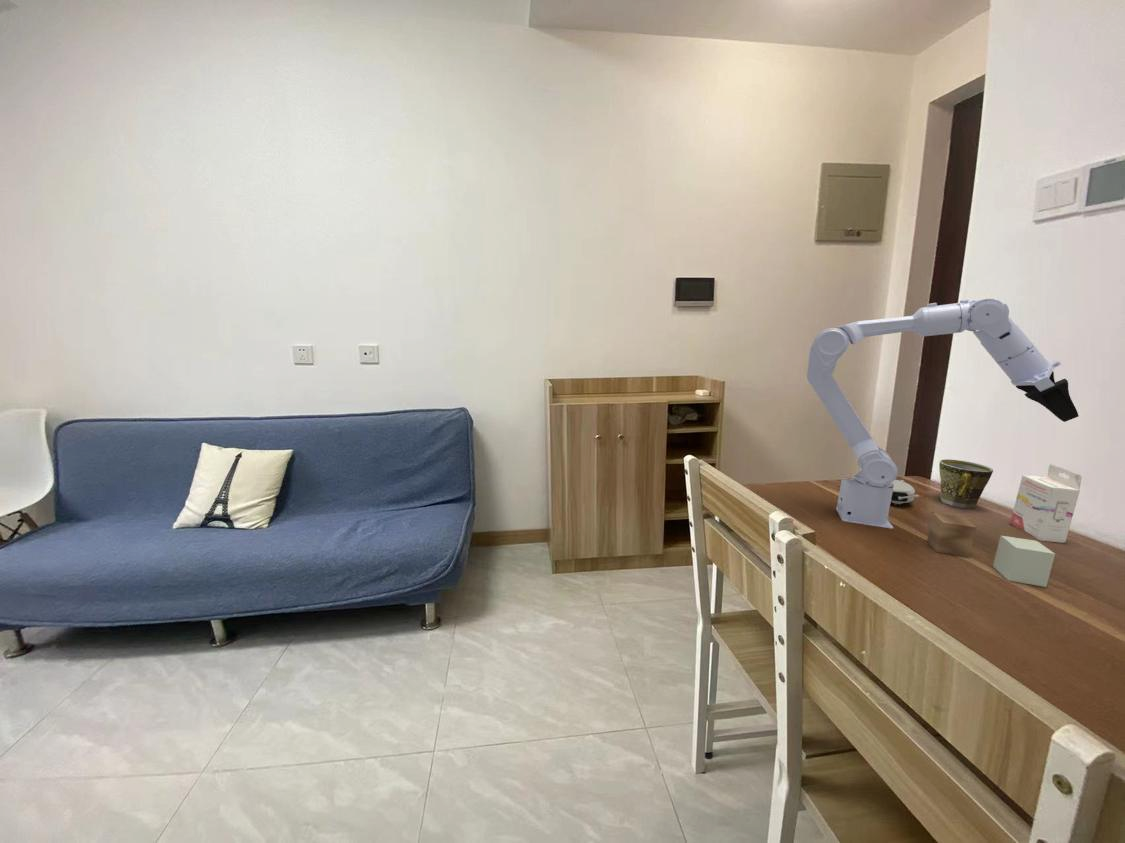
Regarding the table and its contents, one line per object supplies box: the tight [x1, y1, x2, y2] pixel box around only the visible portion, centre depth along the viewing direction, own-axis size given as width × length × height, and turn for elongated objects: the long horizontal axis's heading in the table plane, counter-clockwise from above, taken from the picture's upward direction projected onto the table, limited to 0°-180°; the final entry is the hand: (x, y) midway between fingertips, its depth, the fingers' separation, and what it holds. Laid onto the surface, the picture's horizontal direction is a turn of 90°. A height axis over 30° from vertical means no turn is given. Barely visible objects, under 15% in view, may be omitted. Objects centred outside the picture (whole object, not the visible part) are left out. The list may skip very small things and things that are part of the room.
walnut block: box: [926, 512, 977, 558], centre depth 88 cm, size 5×5×6 cm
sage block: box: [992, 535, 1056, 588], centre depth 79 cm, size 5×5×6 cm
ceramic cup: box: [938, 458, 994, 509], centre depth 112 cm, size 13×10×10 cm
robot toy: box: [840, 477, 920, 505], centre depth 116 cm, size 12×4×15 cm
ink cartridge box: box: [1009, 463, 1083, 544], centre depth 97 cm, size 9×5×15 cm, turn 168°
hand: (1064, 413), depth 84 cm, fingers open, 7 cm apart
